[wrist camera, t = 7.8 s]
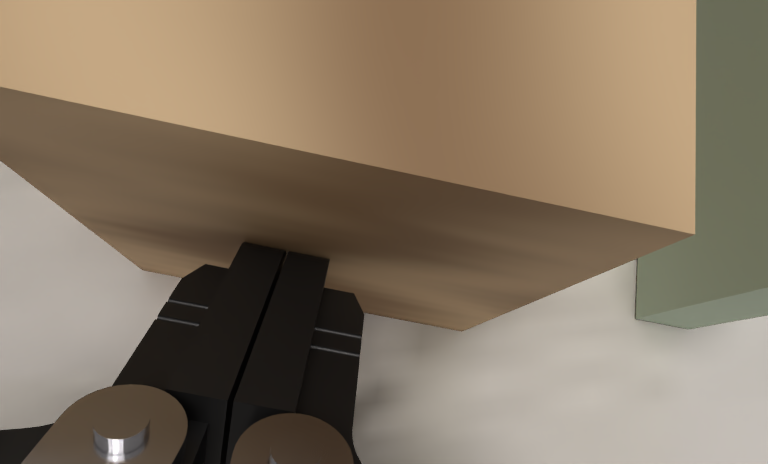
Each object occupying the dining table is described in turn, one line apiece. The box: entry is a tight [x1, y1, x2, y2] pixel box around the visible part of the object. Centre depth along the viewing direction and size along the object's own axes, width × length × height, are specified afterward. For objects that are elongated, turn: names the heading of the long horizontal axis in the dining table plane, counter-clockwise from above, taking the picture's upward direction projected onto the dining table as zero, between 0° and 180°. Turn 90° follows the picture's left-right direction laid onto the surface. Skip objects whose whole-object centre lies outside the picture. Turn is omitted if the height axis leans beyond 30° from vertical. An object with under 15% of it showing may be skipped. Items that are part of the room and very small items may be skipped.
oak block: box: [0, 0, 696, 331], centre depth 11 cm, size 8×10×9 cm
